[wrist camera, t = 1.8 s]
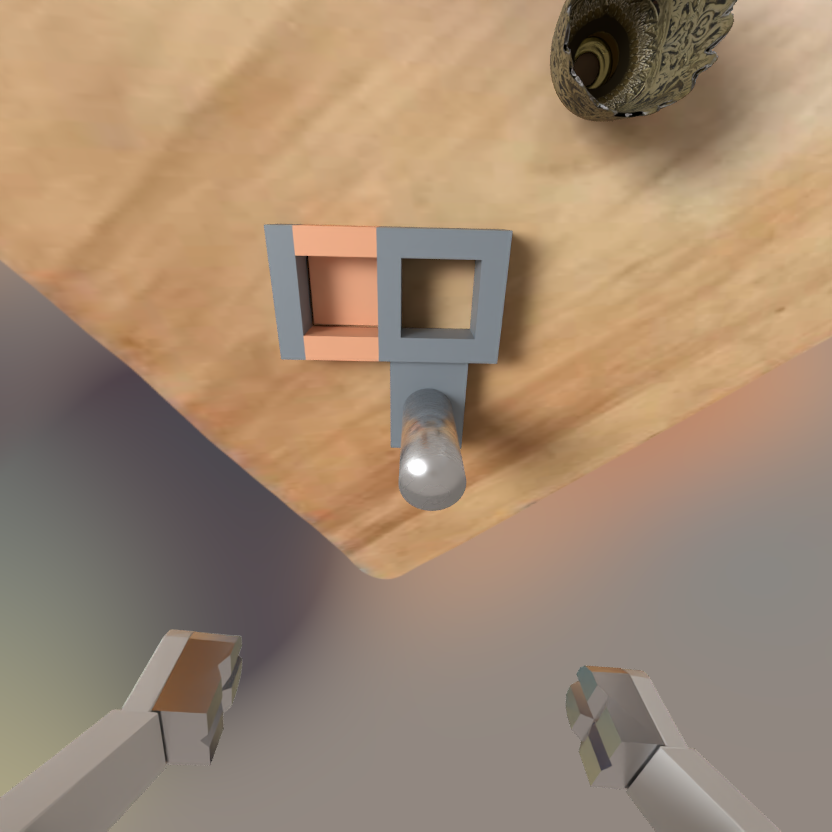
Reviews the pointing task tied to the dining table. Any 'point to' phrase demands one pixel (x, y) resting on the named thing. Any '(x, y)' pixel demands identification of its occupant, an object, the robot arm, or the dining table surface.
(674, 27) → the cup
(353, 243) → the rack
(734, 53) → the dining table surface
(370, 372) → the dining table surface
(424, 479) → the peg
